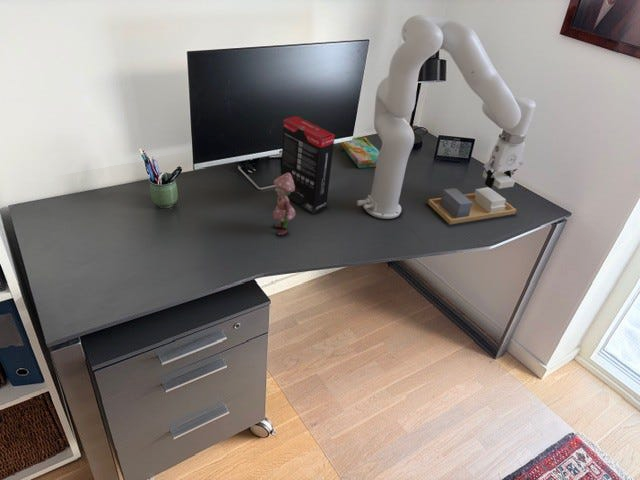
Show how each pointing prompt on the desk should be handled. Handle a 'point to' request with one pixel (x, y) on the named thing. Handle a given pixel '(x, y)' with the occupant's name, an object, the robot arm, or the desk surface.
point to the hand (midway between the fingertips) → (496, 184)
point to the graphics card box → (307, 162)
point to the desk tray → (475, 213)
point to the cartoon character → (284, 201)
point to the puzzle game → (361, 152)
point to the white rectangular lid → (501, 180)
